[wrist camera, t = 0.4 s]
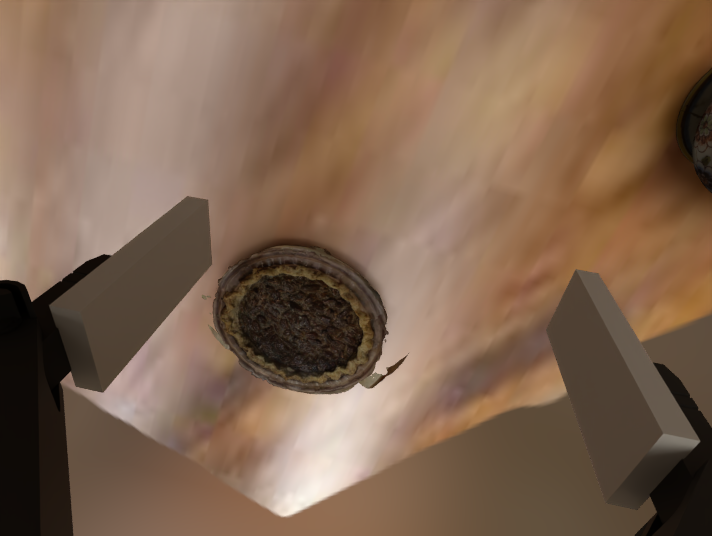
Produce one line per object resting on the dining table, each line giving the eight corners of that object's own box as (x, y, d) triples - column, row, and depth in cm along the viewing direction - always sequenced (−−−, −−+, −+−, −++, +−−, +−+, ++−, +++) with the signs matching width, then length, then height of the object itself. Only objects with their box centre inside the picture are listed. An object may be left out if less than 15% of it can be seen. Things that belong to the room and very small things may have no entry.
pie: (160, 289, 55) (138, 312, 51) (300, 150, 43) (286, 166, 39) (313, 413, 63) (305, 442, 59) (467, 326, 51) (471, 354, 47)
